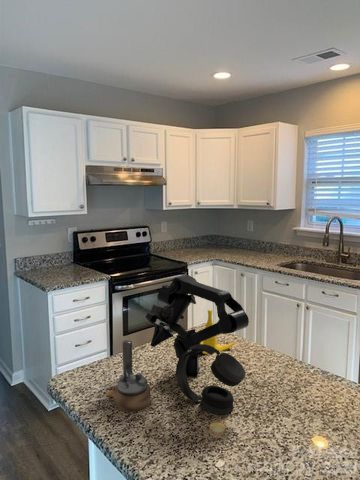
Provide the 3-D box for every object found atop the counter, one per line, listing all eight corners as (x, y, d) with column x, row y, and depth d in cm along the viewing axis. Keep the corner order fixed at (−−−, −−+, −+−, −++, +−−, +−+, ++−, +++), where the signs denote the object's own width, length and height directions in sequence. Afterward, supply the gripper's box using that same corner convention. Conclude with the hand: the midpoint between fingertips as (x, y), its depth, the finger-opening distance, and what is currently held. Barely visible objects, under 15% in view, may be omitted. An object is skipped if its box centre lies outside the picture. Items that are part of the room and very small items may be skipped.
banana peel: (236, 349, 151) (237, 310, 149) (196, 358, 143) (196, 317, 141) (216, 336, 166) (216, 300, 164) (178, 343, 158) (178, 306, 156)
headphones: (252, 362, 107) (195, 330, 115) (242, 374, 99) (182, 339, 108) (234, 412, 111) (180, 377, 120) (223, 426, 104) (167, 389, 113)
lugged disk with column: (150, 403, 109) (149, 355, 108) (120, 408, 107) (119, 359, 105) (140, 381, 123) (139, 338, 121) (113, 385, 120) (112, 342, 118)
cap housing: (154, 394, 117) (154, 382, 116) (144, 413, 106) (144, 400, 105) (111, 389, 120) (111, 377, 119) (97, 408, 109) (97, 395, 108)
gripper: (149, 290, 133) (123, 326, 128) (180, 301, 119) (153, 342, 113) (166, 307, 139) (142, 342, 133) (198, 320, 124) (173, 359, 119)
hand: (151, 346), depth 125 cm, fingers closed
